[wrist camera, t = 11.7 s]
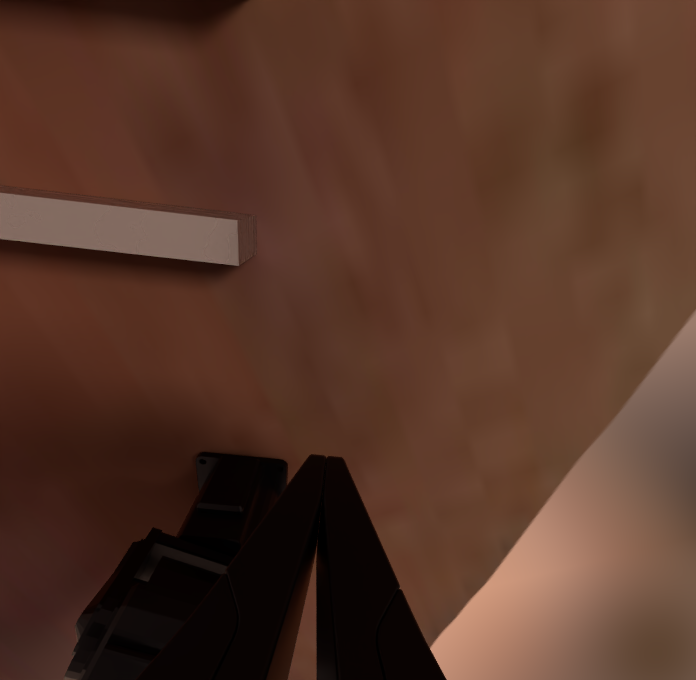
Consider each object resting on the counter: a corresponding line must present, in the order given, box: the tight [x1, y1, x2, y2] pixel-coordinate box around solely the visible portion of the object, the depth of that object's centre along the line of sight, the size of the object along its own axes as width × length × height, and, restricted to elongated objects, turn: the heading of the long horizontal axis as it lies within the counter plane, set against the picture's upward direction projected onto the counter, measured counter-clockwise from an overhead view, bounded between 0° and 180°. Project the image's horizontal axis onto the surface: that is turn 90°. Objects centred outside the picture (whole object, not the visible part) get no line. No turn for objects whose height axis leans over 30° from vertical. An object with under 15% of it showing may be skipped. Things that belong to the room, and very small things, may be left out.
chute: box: [0, 186, 256, 266], centre depth 14 cm, size 13×18×3 cm
